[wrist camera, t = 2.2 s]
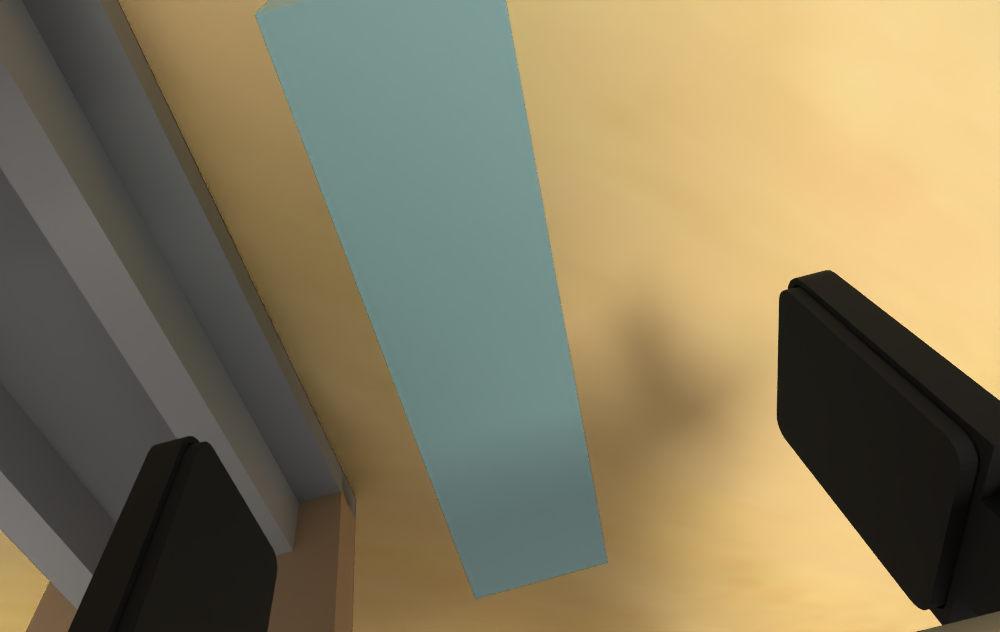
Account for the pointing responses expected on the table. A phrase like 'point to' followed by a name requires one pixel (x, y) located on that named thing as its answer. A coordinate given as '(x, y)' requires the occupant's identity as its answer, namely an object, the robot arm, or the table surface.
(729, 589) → the table surface
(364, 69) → the door panel
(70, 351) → the door frame
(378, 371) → the table surface
